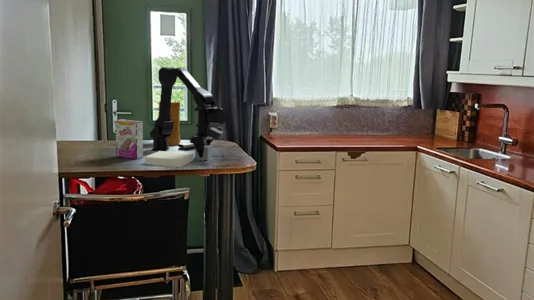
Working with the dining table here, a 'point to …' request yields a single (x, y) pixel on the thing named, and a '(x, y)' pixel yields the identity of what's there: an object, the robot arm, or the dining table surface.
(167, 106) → the robot arm
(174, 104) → the coffee package
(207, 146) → the grey cube
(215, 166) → the dining table surface
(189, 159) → the base block
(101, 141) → the dining table surface
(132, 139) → the candy bar box
